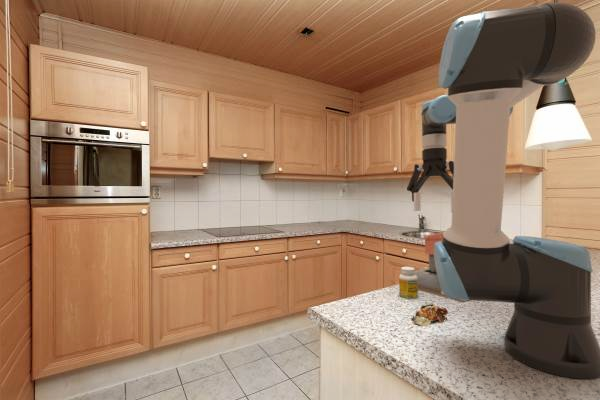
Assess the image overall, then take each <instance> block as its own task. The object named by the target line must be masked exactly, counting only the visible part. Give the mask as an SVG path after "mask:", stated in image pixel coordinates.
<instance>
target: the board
mask: <svg viewBox="0 0 600 400" xmlns="http://www.w3.org/2000/svg"><path fill="white" fill-rule="evenodd" d="M418 291H419V292H420V291H421V292H424V293H427V294H430V295H431V294H432V295H435V296H438V297H442V298H446V299H448V300H451V301H455V302H459V303H466V302H467V301H465V300H461V299H452V298H449V297H447V296H446V295H443V294H441V293H440V292H436V291H432V290H429V289H425V288H421V287H418Z"/></svg>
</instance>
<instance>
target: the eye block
mask: <svg viewBox="0 0 600 400" xmlns="http://www.w3.org/2000/svg"><path fill="white" fill-rule="evenodd" d="M414 274H415V275H416V276H417V280H418V287H421V288H425V289H429V290H432V291H436V292H440V293H441V292H442V289H441V287H440V284H439V280H438V276H437V274H434V273H429V266H427V267H423V268H420V269H415V273H414Z"/></svg>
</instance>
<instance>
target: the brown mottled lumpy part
mask: <svg viewBox="0 0 600 400" xmlns="http://www.w3.org/2000/svg"><path fill="white" fill-rule="evenodd" d="M430 307H431V308H430ZM448 313H449V311H448V309H447V308H446V307H440V306H439V305H438V304H436V303H435V304H434V303H433V302H429V303H426V304H422V305H421V306H420V309H418V310H417V311H416V312H415V315H413V316H412V317H411V320H410V321H411V322H412V324H413V325H419V326H421V327H425V326H426V327H429V326H430V325H431V323H432V322H435V321H437V320H438V322H439V323H440V324H442V323H444V322H445V321H446V320H445V319H446V316H447V315H448ZM444 320H445V321H444ZM443 321H444V322H443ZM428 325H429V326H428Z"/></svg>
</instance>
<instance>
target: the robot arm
mask: <svg viewBox="0 0 600 400" xmlns="http://www.w3.org/2000/svg"><path fill="white" fill-rule="evenodd" d="M596 33H597V32H596V27H595V24H594V21H593V19H592V18H591V17H590V16H589V14H588V13H587V12H586V11H585V10H584V9H582V8H580V7H578V6H576V5H574V4H572V3H567V2H560V1H559V2H548V3H547V2H546V3H542V4H536V5H528V6H521V7H519V6H518V7H511V8H505V9H503V8H502V9H497V10H496V9H495V10H489V11H485V10H484V11H480V12H479V13H475V14H469V15H464V16H460V17H459V18H457V19H456V20H455V21H454V22H453V23H452V24H451V26H450V28H449V30H448V32H447V34H446V37H445V40H444V42H443V47H442V51H441V56H440V61H439V66H438V67H439V68H438V85H439V87H440V88H441V89H442V88H443V89H444V90H446V89H447V94H443V95H439V96H437V97H436V98H434V99H432V100H428V101H426V102H424V103H423V104H422V106H421V113H420V114H421V131H422V132H421V134H422V135H421V148H422V149H423V150H422V151H421V154H422V155H421V156H422V159H421V160H422V164H414V170H413V172H412V175H411V178H410V180H409V182H408V184H407V187H406V190H407V191H409V192H411V201H412V202H413V212H421V192H420V189H421V188H422V187H423V186H424V184H425V183H426V181H427V180H428V179H429V178H430V177H432V178H433V177H441V178H442V180H444V181H445V182H446V184H447V185H448V186H449V187H450V188H451V190H452V191H451V192H450V209H451V210H450V211H451V212H450V213H451V225H450V227H448V228H447V229H445V230H444V231H443V238H442V239H443V242H441V241H439V242H436V243H435V244H434V260H435V267H436V272H437V276H438V280H439V284H440V287H441V289H442V291H443V293H444V294H445V295H446V296H447V297H449V298H452V299H462V300H466V302H470V301H473V302H474V301H476V302H477V301H478V302H479V301H481V302H491V303H492V302H495V303H496V302H497V303H513V304H514V307H513V309H514V310H513V312H512V316H511V319H510V321H509V324H508V326H507V327H506V331H505V333H504V339H503V340H504V341H503V342H504V346H503V347H504V349H505V351H506V352H507V353H508V354H509V355H511V357H513V358H514V359H516V360H518V361H519V362H520V363H523V364H524V365H527V366H529V367H532V368H533V369H536V370H539V371H541V372H544V373H548V374H552V375H555V376H560V377H566V378H573V379H584V380H585V379H596V378H599V377H600V344H599V342H598V339H597V337H596V335H595V332H594V329H593V328H592V273H593V269H592V261H591V254H590V251H589V250H588V249H587V248H586V247H584V246H582V245H580V244H577V243H571V242H568V241H563V240H557V239H550V238H545V237H537V236H528V235H516V236H514V237H513V240H512V243H510V238H509V236H507V234H506V233H504V231H502V220H503V219H502V218H503V207H504V206H503V205H504V191H505V182H506V181H505V180H506V167H507V156H508V155H507V154H508V140H509V130H510V129H509V128H510V117H511V115H512V114H513V111H514V107H515V106H516V105H517V104H518V103H520V102H522V101H524V100H525V99H526V98H527V97H529V96H532V95H533V94H534V93H535V92H537V91H538V90H540V89H541V88H543V87H544V86H549V85H551V86H552V85H554V84H556V83H559V82H561V81H563V80H564V79H566V78H568V77H569V76H571V75H572V74H574V73H575V72H576V71H578V70H579V69H580V68H581V67H582V66H583V65H584V63H586V61H587V60H588V59H589V57H590V55H591V54H592V51H593V50H594V46H595V43H596ZM447 125H455V129H454V130H455V131H454V132H455V133H454V157H453V160H450V161H448V162H447V158H448V155H447V150H448V149H447V148H446V147H447V145H448V144H447V140H448V139H447ZM447 168H448V169H449V172H450V173H451V175H452V177H453V178H452V177H451V175H450V173H448V171H447V170H446V169H447ZM422 171H423V172H422ZM452 299H451V300H452Z"/></svg>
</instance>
